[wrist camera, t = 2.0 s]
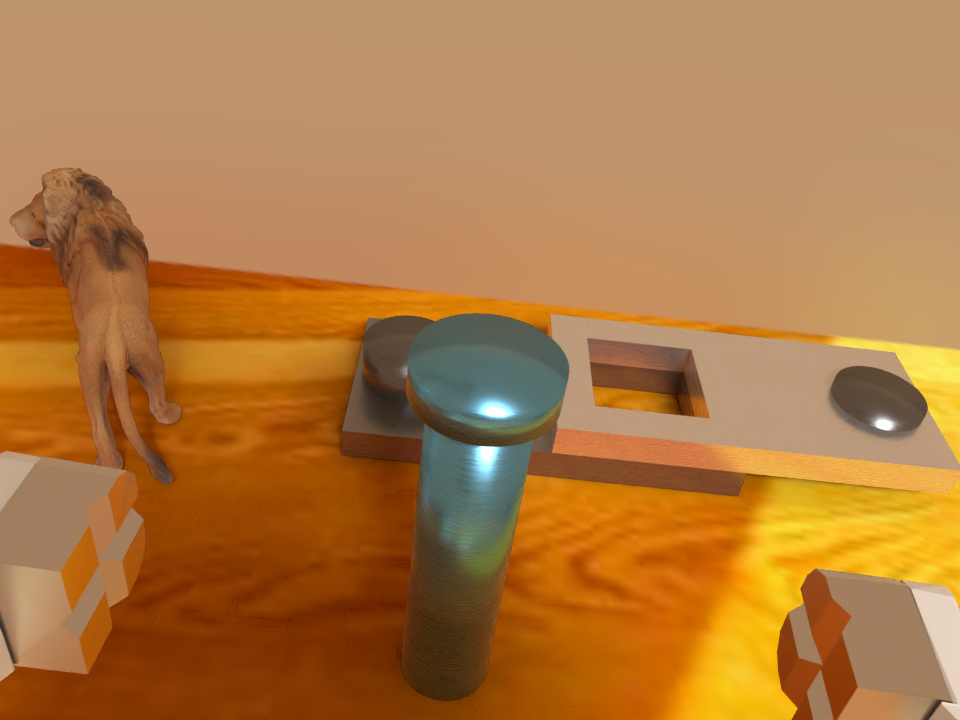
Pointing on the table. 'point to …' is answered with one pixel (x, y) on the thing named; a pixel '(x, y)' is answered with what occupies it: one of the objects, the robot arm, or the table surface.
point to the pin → (470, 485)
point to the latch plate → (689, 410)
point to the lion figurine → (103, 303)
